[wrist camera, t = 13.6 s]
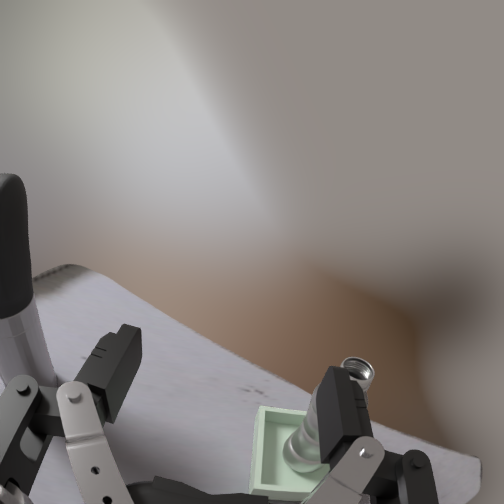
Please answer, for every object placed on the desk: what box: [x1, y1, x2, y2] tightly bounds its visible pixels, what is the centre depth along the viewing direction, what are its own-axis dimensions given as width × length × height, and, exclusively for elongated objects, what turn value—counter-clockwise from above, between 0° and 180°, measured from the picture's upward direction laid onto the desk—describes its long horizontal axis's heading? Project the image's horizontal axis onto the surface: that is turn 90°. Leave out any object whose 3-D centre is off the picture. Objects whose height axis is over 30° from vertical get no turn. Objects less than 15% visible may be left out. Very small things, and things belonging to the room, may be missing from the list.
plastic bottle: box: [282, 357, 375, 473], centre depth 33 cm, size 6×7×20 cm
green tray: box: [249, 406, 330, 501], centre depth 37 cm, size 14×14×4 cm
